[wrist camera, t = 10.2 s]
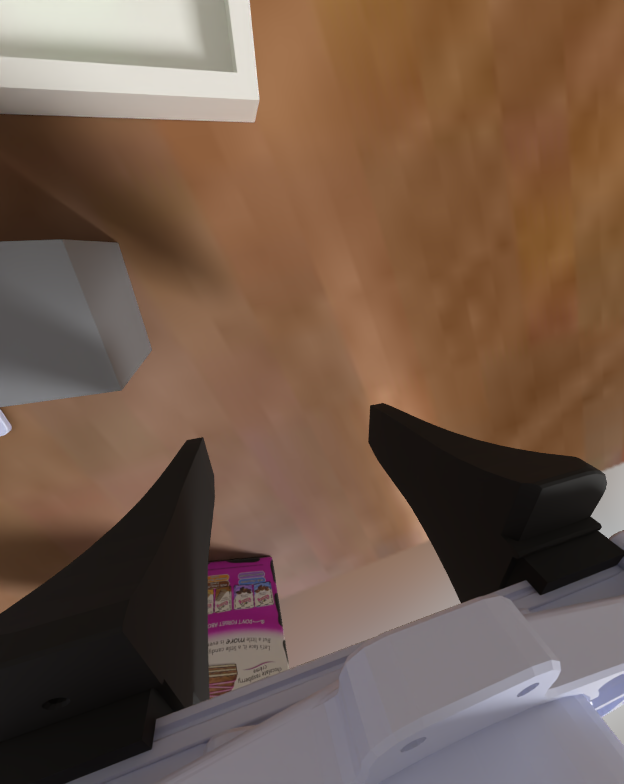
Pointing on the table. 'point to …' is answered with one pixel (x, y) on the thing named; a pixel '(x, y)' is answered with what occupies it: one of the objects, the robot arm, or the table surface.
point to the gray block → (66, 321)
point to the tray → (128, 59)
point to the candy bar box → (243, 624)
